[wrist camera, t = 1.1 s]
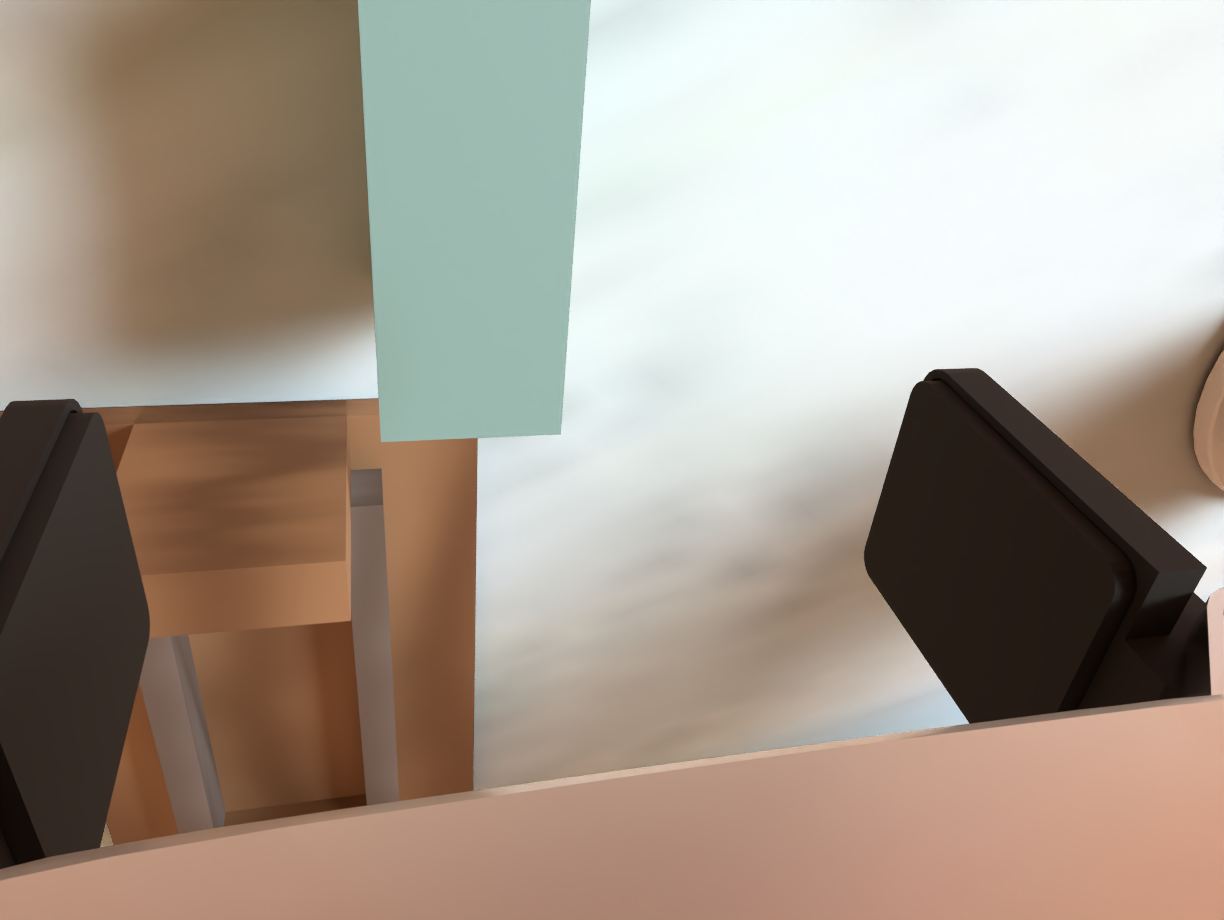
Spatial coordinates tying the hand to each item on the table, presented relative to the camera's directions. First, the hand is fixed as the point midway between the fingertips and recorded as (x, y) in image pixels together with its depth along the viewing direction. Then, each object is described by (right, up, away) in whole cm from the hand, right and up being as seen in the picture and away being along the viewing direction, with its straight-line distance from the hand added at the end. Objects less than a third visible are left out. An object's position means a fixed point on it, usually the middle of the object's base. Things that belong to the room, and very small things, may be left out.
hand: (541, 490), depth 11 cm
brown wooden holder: (-11, -6, +23) cm, 27 cm away
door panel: (-4, +10, +15) cm, 18 cm away
